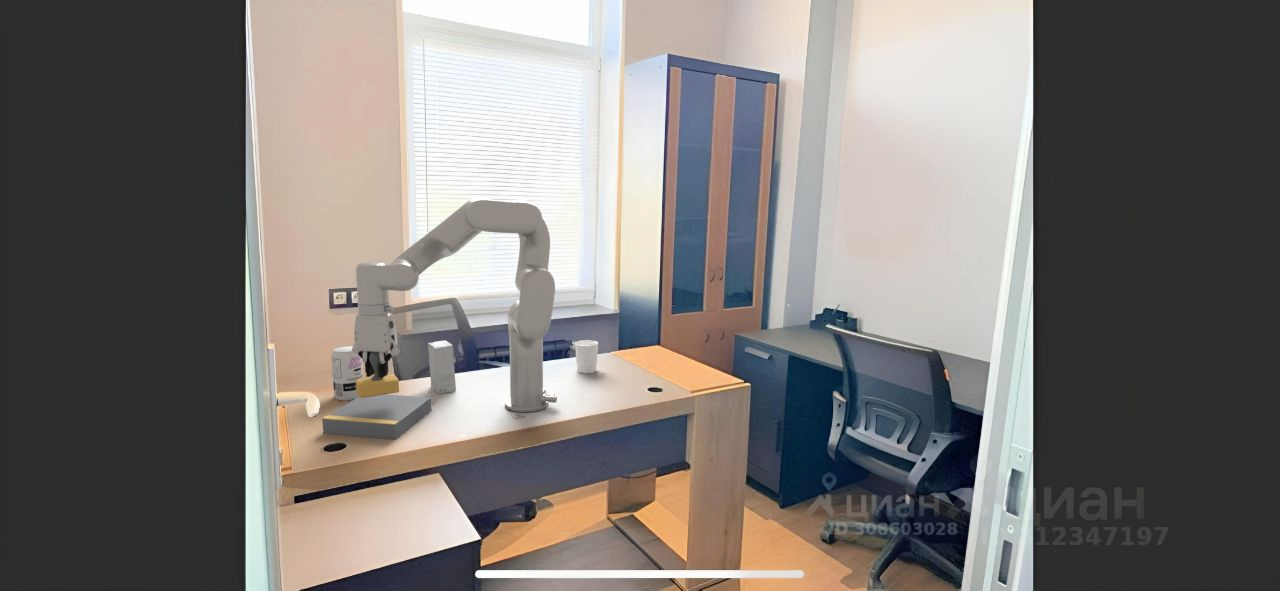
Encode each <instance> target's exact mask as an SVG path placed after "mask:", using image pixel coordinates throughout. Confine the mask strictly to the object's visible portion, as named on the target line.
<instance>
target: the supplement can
mask: <svg viewBox="0 0 1280 591" xmlns="http://www.w3.org/2000/svg"><path fill="white" fill-rule="evenodd" d="M353 346H354V345H342V346H336V347H335V348H333V351H332V352H331V354H330V356H331V357H330V358H331V366H332V367H331V369H332V381H333V382H332V384H333V395H334V398H336V399H337V400H338V401H342V400H346V402H348V401H347V400H349V401H353V400H354V399H356V398H358V397H359V396H358V394H357V393H356V379H361V378H364V366H363V364H364V362H363V360H362V358H361V357H360V356H359V355H358V354H356V353H355V352H353V351H352V348H353Z"/></svg>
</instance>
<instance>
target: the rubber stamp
mask: <svg viewBox="0 0 1280 591" xmlns="http://www.w3.org/2000/svg"><path fill="white" fill-rule="evenodd" d="M369 360H370V363H371V365H372V367H373V369H374V373H375V374H373V375H372V376H370V377H363V378H361V379H356V393H357V394H358V396H359V398H365V397H372V396H378V395H384V394H388V395H392V394H395V393H396V394H397V393H400V383H399V382H400V381H399V378H398V377H397V376H396V375H395V374H394V373H391V374H387V376H385V377H383V378H380V377H379V364H380V356H379V352H370V355H369Z"/></svg>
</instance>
